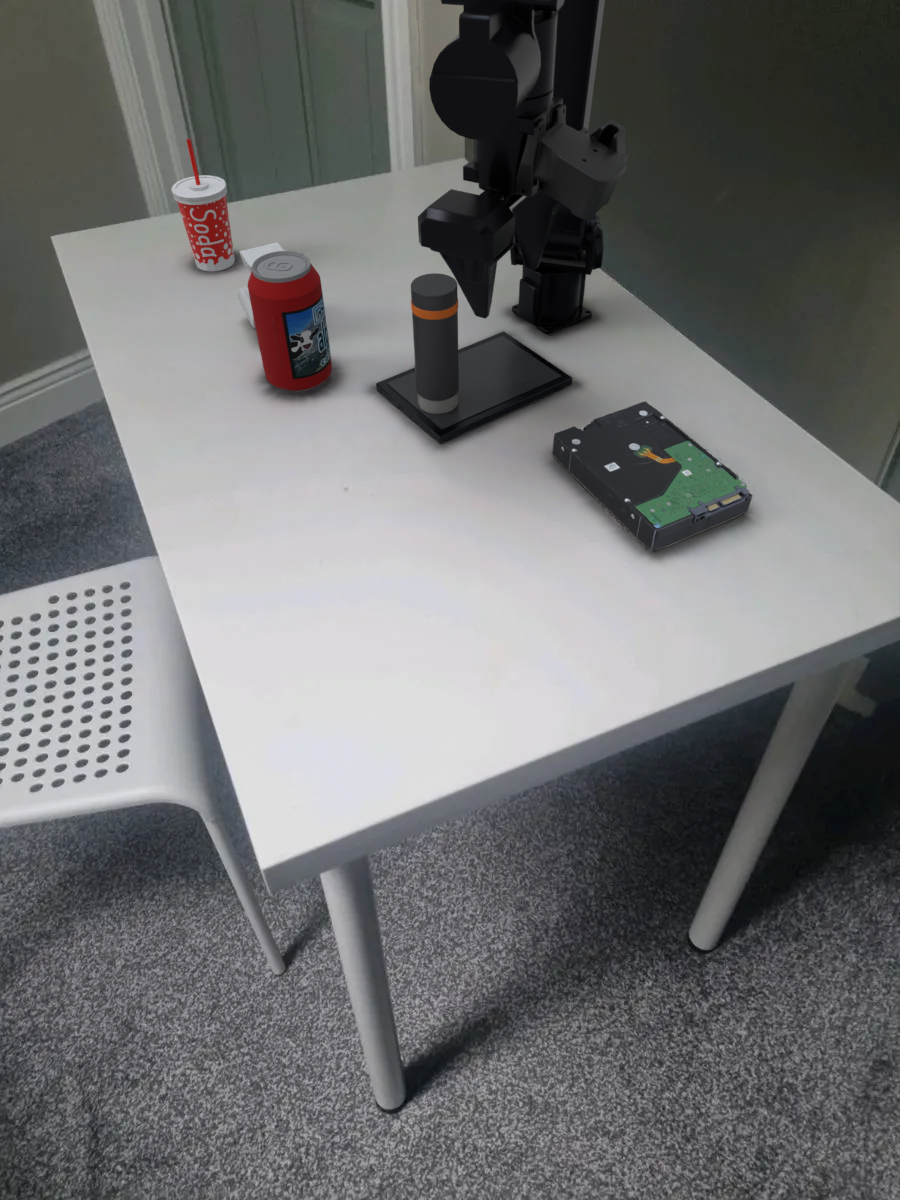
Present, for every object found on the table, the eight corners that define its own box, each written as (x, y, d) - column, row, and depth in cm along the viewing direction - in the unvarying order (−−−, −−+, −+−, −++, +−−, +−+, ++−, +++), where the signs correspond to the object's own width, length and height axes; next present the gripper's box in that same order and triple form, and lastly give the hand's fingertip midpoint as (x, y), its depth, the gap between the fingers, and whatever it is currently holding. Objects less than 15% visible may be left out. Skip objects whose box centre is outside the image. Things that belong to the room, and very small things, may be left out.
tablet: (503, 337, 95) (503, 330, 94) (572, 384, 88) (573, 376, 88) (376, 390, 88) (375, 382, 88) (440, 444, 82) (440, 436, 82)
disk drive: (548, 459, 81) (652, 556, 72) (550, 433, 79) (657, 530, 70) (640, 424, 84) (750, 512, 75) (644, 398, 82) (758, 486, 73)
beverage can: (322, 400, 87) (305, 285, 79) (256, 393, 88) (232, 279, 80) (341, 362, 92) (327, 249, 83) (279, 356, 93) (258, 244, 84)
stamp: (321, 340, 95) (310, 264, 89) (260, 354, 93) (245, 278, 87) (296, 301, 101) (285, 227, 94) (238, 314, 99) (223, 240, 93)
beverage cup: (181, 272, 106) (150, 148, 96) (202, 248, 110) (174, 127, 100) (229, 276, 105) (203, 151, 95) (248, 252, 109) (225, 130, 99)
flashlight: (452, 387, 87) (450, 269, 78) (464, 410, 84) (463, 291, 75) (411, 394, 86) (404, 277, 77) (423, 418, 83) (417, 299, 75)
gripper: (562, 152, 55) (547, 371, 67) (667, 64, 66) (638, 265, 78) (408, 123, 59) (419, 334, 71) (531, 45, 70) (523, 238, 82)
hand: (507, 291), depth 75 cm, fingers open, 9 cm apart
